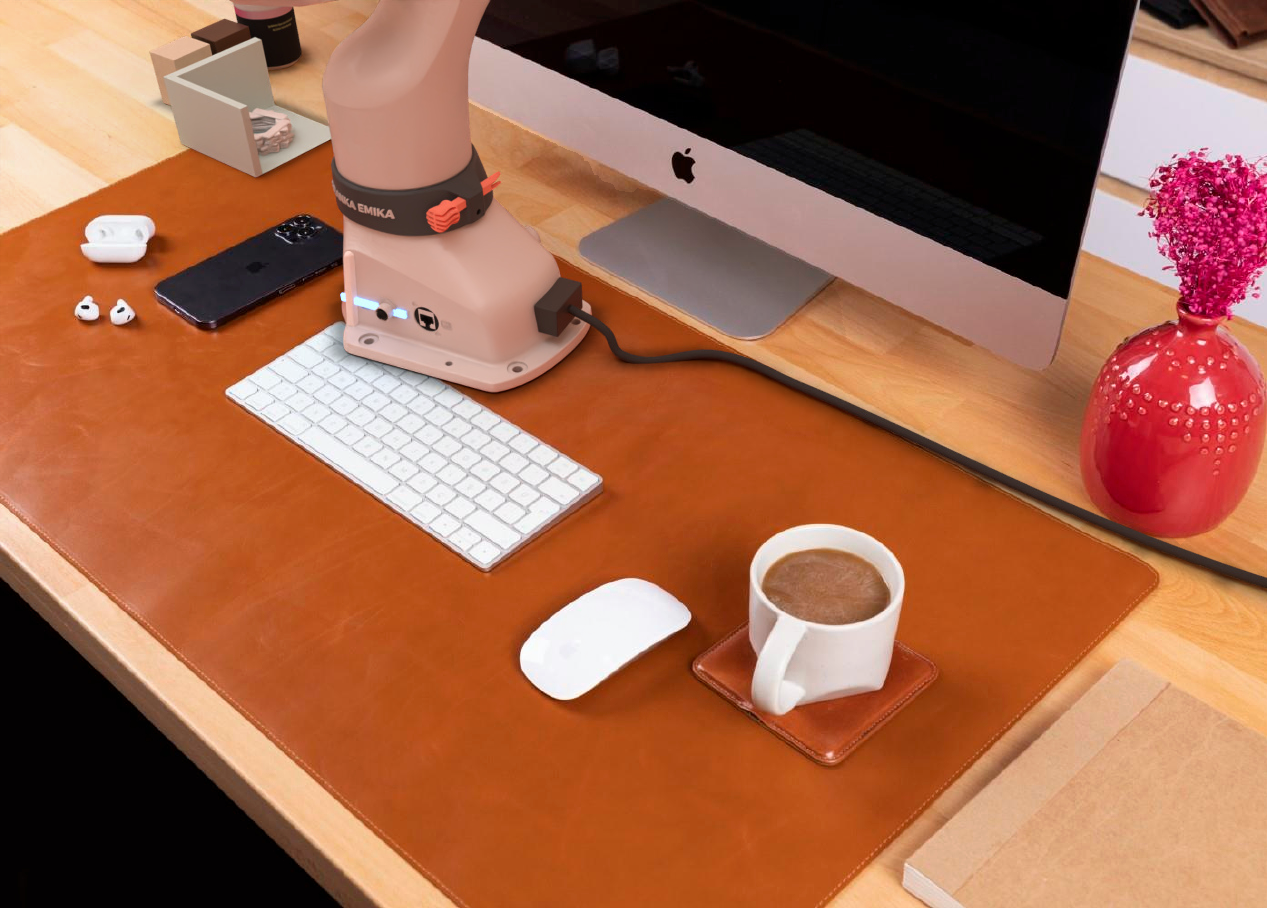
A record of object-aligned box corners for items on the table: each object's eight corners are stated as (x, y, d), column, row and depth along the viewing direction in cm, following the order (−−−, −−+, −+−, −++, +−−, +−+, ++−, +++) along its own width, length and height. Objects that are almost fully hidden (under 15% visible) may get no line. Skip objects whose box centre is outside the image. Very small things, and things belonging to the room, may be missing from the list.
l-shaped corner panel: (255, 177, 129) (240, 108, 124) (180, 143, 135) (163, 76, 130) (343, 132, 136) (331, 66, 131) (268, 102, 142) (254, 37, 137)
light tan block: (221, 95, 143) (209, 43, 139) (187, 111, 140) (173, 60, 136) (197, 86, 145) (185, 35, 141) (162, 102, 142) (149, 51, 138)
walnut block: (259, 76, 147) (248, 26, 143) (226, 92, 144) (214, 41, 140) (235, 68, 148) (224, 17, 144) (202, 83, 145) (190, 33, 141)
